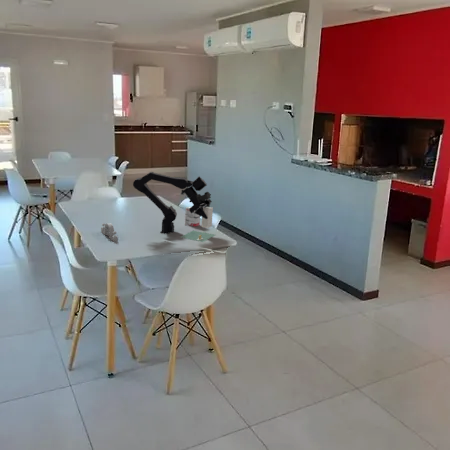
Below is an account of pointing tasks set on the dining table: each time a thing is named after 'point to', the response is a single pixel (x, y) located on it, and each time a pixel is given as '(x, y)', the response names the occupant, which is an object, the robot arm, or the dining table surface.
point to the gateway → (109, 231)
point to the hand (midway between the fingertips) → (209, 217)
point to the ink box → (191, 218)
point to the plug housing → (208, 222)
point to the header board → (197, 236)
